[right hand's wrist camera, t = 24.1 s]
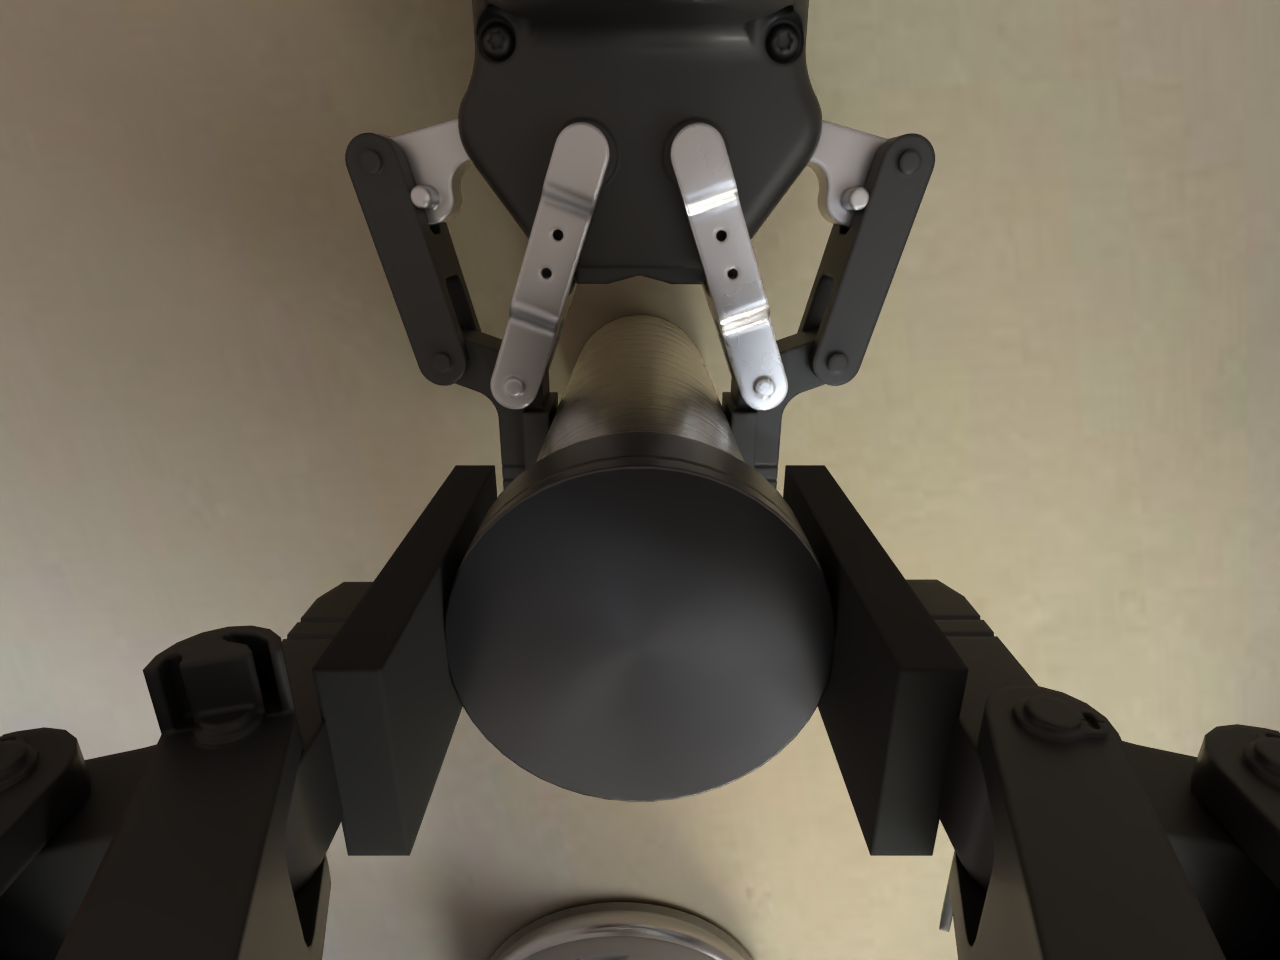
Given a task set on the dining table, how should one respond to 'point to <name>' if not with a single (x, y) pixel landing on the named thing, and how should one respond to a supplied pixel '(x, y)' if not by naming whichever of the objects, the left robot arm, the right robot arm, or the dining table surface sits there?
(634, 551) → the lid
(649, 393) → the jar
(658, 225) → the left robot arm
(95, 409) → the dining table surface
